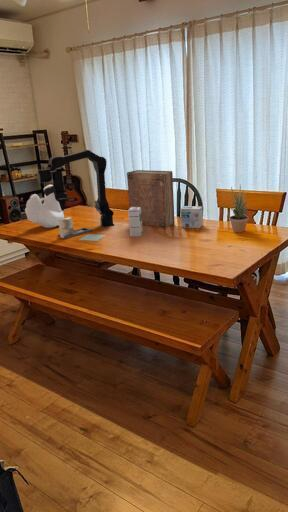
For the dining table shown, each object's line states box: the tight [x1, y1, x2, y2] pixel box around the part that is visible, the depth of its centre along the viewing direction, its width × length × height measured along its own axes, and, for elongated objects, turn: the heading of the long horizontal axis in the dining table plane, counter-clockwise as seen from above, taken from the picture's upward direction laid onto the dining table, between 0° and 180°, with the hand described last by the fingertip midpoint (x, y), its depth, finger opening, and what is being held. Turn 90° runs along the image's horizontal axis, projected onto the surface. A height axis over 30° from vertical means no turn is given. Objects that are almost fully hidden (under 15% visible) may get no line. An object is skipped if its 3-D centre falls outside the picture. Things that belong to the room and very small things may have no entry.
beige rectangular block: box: [58, 217, 75, 239], centre depth 220 cm, size 7×3×10 cm, turn 133°
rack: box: [57, 227, 93, 240], centre depth 225 cm, size 18×7×2 cm, turn 133°
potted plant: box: [228, 185, 250, 233], centre depth 207 cm, size 10×10×25 cm
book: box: [126, 169, 176, 229], centre depth 232 cm, size 25×9×30 cm, turn 51°
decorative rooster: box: [24, 184, 65, 229], centre depth 242 cm, size 25×16×25 cm, turn 129°
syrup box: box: [127, 207, 144, 237], centre depth 214 cm, size 6×6×14 cm
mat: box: [78, 233, 107, 242], centre depth 216 cm, size 11×11×1 cm
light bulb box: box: [180, 205, 204, 229], centre depth 224 cm, size 11×7×11 cm, turn 68°
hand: (62, 209), depth 225 cm, fingers open, 9 cm apart
